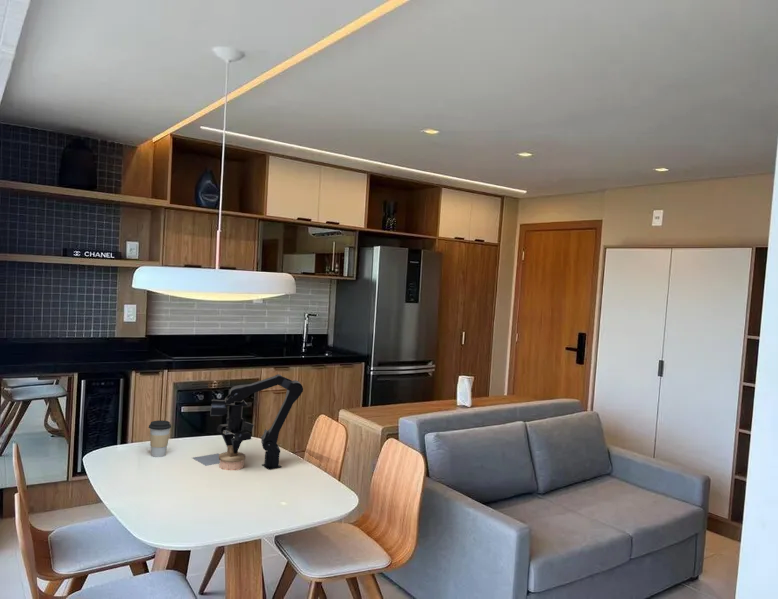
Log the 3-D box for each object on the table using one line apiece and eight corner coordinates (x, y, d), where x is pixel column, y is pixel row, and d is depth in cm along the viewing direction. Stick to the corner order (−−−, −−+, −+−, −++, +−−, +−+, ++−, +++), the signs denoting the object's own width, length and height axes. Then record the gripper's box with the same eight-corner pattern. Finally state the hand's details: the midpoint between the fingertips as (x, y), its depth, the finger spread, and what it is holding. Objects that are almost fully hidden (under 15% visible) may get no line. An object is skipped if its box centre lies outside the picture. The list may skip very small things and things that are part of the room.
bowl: (247, 468, 253) (248, 459, 252) (226, 472, 245) (227, 463, 245) (235, 462, 260) (236, 453, 259) (215, 466, 252) (215, 456, 252)
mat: (232, 461, 260) (232, 460, 260) (205, 466, 251) (205, 465, 251) (218, 454, 269) (218, 453, 269) (191, 458, 260) (191, 457, 260)
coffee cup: (173, 456, 262) (176, 422, 261) (155, 460, 254) (157, 426, 253) (160, 451, 267) (162, 418, 266) (141, 455, 259) (144, 422, 258)
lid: (250, 459, 252) (250, 447, 252) (226, 463, 245) (227, 451, 244) (236, 453, 260) (237, 441, 260) (213, 456, 252) (214, 444, 252)
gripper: (263, 418, 251) (260, 454, 252) (240, 409, 264) (237, 444, 265) (240, 421, 243) (237, 458, 244) (217, 412, 256) (215, 447, 257)
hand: (232, 452), depth 252 cm, fingers open, 4 cm apart
